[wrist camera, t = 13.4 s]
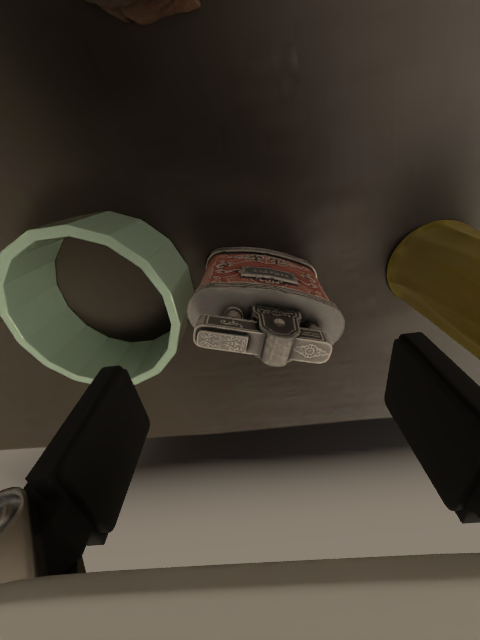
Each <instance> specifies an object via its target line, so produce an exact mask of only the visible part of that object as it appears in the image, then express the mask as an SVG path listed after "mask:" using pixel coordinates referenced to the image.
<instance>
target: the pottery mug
mask: <svg viewBox="0 0 480 640" xmlns="http://www.w3.org/2000/svg"><path fill="white" fill-rule="evenodd" d="M85 1H87V2H89V3H91V4H95V3H96V4H97V5H98V6H99V7H101V8H103V9H104V10H105V11H107V12H108V13H109V14H111V15H113V16H115V17H116V18H118V19H120V20H122V21H124V22H126V23H130V22H131V21H132V20H133V21H135V22H136V23H138V24H140V25H146V24H151V23H154V22H155V21H157V20H160V19H161V18H163V17H167V16H170V15H173V14H178V13H187V12H190V11H193V10H195V9H198V8H199V7H200V1H199V0H85Z"/></svg>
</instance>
